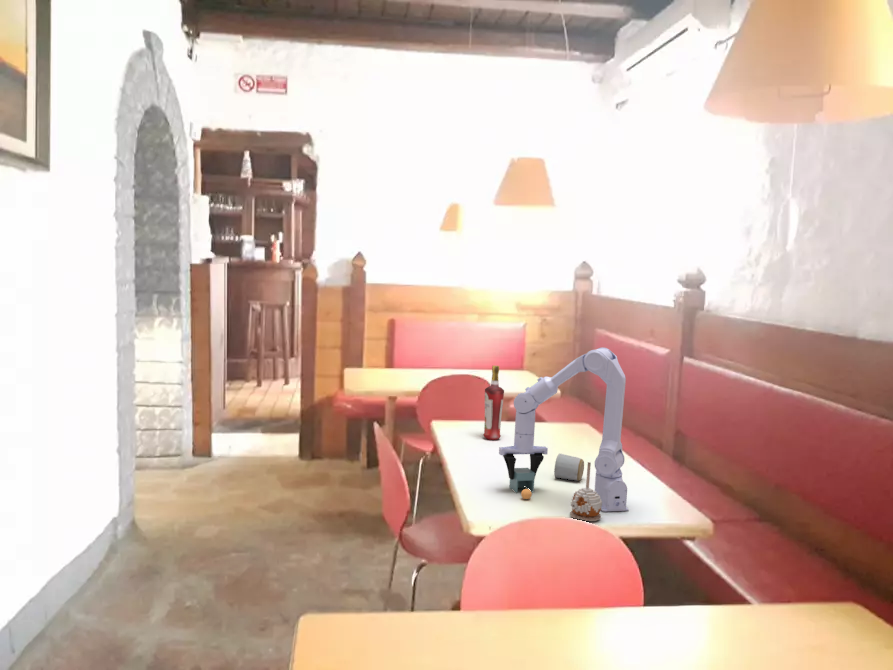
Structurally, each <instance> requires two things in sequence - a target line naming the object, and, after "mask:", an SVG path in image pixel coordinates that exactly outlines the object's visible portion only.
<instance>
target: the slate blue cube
mask: <svg viewBox="0 0 893 670" xmlns="http://www.w3.org/2000/svg"><path fill="white" fill-rule="evenodd" d="M534 478H535V479H536V475H535V473H534V472H533V471H532V470H530V467H514V479H513V480H511V479H510V478H509V485H508V486H509V487H510V488H509V489H511V490H512V489H513V490H514V491H515V492H517V493H518V487H522V488H526V487H527V488H529V489H530V490H531V491H535V479H534ZM524 486H526V487H524ZM527 488H526V489H527ZM513 490H512V491H513ZM514 491H513V492H514ZM515 492H514V493H515Z"/></svg>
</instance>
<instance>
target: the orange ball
mask: <svg viewBox="0 0 893 670" xmlns="http://www.w3.org/2000/svg"><path fill="white" fill-rule="evenodd" d="M532 495H533V492H531V491H530V490H529V489H527V488H525V489H524V488H523V490H521V493H520V496H521V498H522V499H523V500H525V499H528V500H530V499H531V498H532Z"/></svg>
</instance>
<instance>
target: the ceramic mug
mask: <svg viewBox="0 0 893 670" xmlns="http://www.w3.org/2000/svg"><path fill="white" fill-rule="evenodd" d="M584 470H585V461H584V459H582V458H580V457H577V456H574V455H573V456H572V455H567V454H564V453H558V455H557V456H556V459H555V461H554V471H553V473H554V475H553V476H554V477H555V479H560V478H561V479H562V480H567V479H568V480H567V481H573V480H574V481H575V482H578V481H581V480H582V478H583V475H584Z"/></svg>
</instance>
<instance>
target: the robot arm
mask: <svg viewBox="0 0 893 670" xmlns="http://www.w3.org/2000/svg"><path fill="white" fill-rule="evenodd" d="M585 372H590V373H592V374H594V375H595V376H598V377H599V378H600V379H601V380H602V381H603V382H604V383H605V385H606V390H605V392H606V393H605V401H604V402H605V403H604V414H603V423H602V424H603V426H602V436H601V437H602V439H601V441H600V442H601V443H600V446H599V449H598V455H597V456H596V458H595V460H594V468H595V477H594V478H595V479H594V491H596V492H597V494H598V495H599V496H600V497H601V498H600V499H601V501H602V509H601V510H600V511H602V512H603V513H604V512H622V511H623V512H625V511H628V512H629V510H630V509H629V507H627V500H628V499H627V498H628V486H627V484H626V483H625V482H624V480H623V472H622V469H621V468H622V467H623V466H624V464H625V455H624V452H623V444H622V441H621V437H622V429H623V427H622V426H623V418H624V416H623V415H624V406H625V405H624V404H625V391H626V382H627V380H626V375H625V373H624V370H623V369H622V367H621V365H620V363H619V360H618V356H617V355H616V354H615V353H614V351H613V352H612V351H611V349H609V348H607V347H599V348H596V349H591V350H589V351H587V352H586V353H584V354H581V355H580V356H578V357H577V358H575V359H574V360H572V361H571V362H570V363H568V364H567V365H566V366H564V367H563V368H562V369H560V370H559V371H558V372H557V373H555V374H554V375H553V376H552V377H551V376H540V377H539V378H537V379H536V380H537V382H535V383H534V384H533V385H531V386H530V387H529V386H528V387H526V388H524V390H525V391H524V392H520V393H518V394H517V395H516V396H515V398H514V400H513V407H514V408H515V411H516V412H515V418H514V419H515V423H514V424H515V425H514V438H513V439H514V440H513V445H511V446H501V447H498V454H499V456H502V458H503V459H504V462H505V465H506V468H507V472H508V478H509V480H510V479H511V480H513V479H514V468H516V461H517V458H516V456H515V455H529V461H530V467H529V469H530V470H532V471H533V472H534V473H535V476H536V475H537V472H538V469H539V467H540V465H541V464H542V462H543V461H544V459H545V458H544V457H545V456H544V455H548V451H549V450H548V448H549V447H548V446H547V447H546V446H540V445H535V444H534V443H535V427H536V409H538V407H540V406H539V405H541V404H544V403H545V402H546V401H547V400H549V399H550V398H551V397H553V396H555V395H556V394H558V390H559V386H561V385H562V384H564V383H565V382H566V381H567V382H568V380H570V379H571V378H572V377H575V376H576V375H577V374H579V373H585ZM534 480H536V477H535V478H534Z"/></svg>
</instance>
